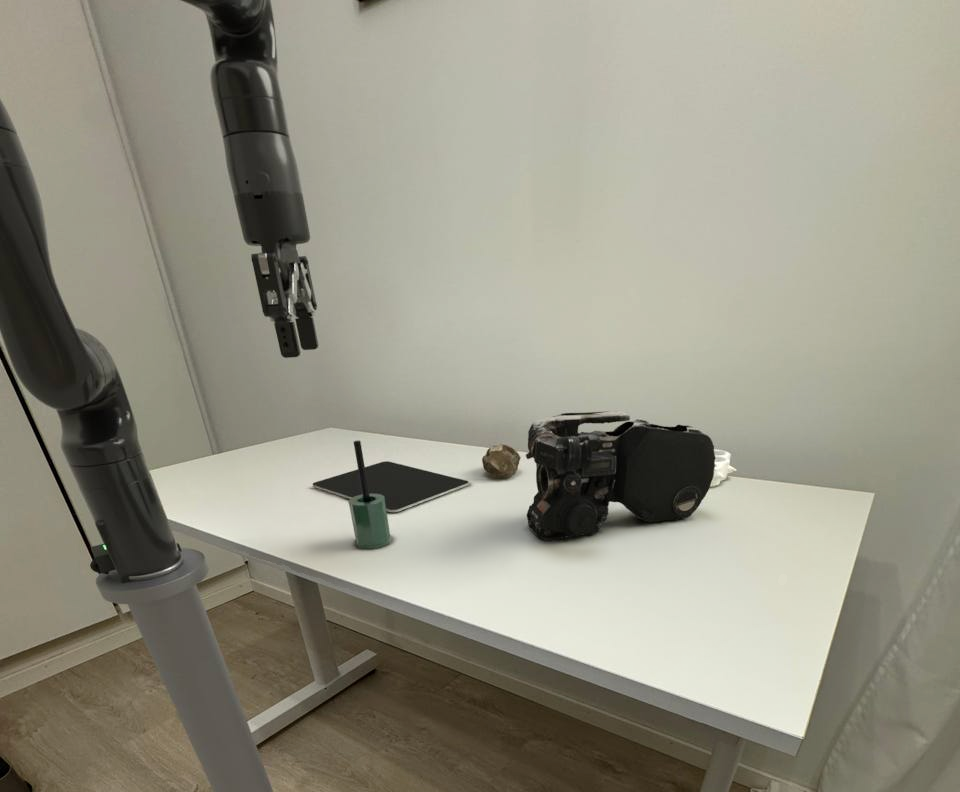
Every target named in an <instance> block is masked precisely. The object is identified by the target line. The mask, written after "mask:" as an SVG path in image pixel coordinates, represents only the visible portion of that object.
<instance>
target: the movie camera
mask: <svg viewBox="0 0 960 792" xmlns="http://www.w3.org/2000/svg"><path fill="white" fill-rule="evenodd" d="M630 419H631V416H630V415H628V414H627V413H625V412H624V411H619V410H617V411H615V410H612V411H592V412H590V411H589V412H565V413H559V414H555V415H550V416H547V417H543V418H539V419H536V420H535V421H533V422H532V423H531V425H530V427H529V429H528V433H527V436H528V437H527V449H528V452H527V453H526V454H525V458H526V459H527V460H530V459H533V461H534V464H536V465H535V468H536V472H535V480H536V482H535V483H536V488H537V489H536V490H537V492H536V494H534V496H533V503H531V505H529V506H528V509H527V513H526V519H527V526H528V528H529V530H531V531H532V532H533V533H534V534H535V536H537V537H538V539H540V540H544V541H545V540H546V541H547V540H548V541H549V540H559V539H562V540H563V539H565V538H570V537H572V538H574V537H581V536H588V535H589V536H593V534H595V533H598V532H599V529H600V528H601V526H602V525H603V523H605V522H607V520H608V515H609V505H610V503H619V504H621V505H623V506H624V507H625V508H626V509H627V510H628V511H629V512H630V513H631V514H632V515H633V516H635V517H636V518H638V519H639V520H642V521H643V522H646V523H655V522H663V521H665V522H666V521H674V520H682V519H686V518H687V519H688V518H689V517H691V516H692V515H693V513H695V511H696V510H697V509H698V508H699V506H700V505H701V504H702V501H703V500H704V499H705V497H706V495H707V494H708V492H709V490H710V488H711V487H710V484H711V481H712V479H713V476H714V467H715V459H716V457H715V454H714V450H715V445H714V442H713V440H712V438H711V437H710V436H709V435H708V434H706V433H704V432H702V431H701V430H699V428H696V427H693V426H691V425H684V424H683V425H682V424H677V425H675V426H665V425H658V424H654V423H649V421H647V420H643V419H635V420H631V421H630ZM619 422H620V423H621V422H623V423H622V424H620V425H618V426H617V427H615V429H613V430H611V431H603V430H602V431H601V430H594V431H590V432H585V431H581V432H579V426H581V425H584V424H592V425H593V424H601V425H603V424H606V423H607V424H611V423H619ZM537 524H538V525H539V529H538V527H537Z"/></svg>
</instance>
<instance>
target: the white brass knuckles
mask: <svg viewBox="0 0 960 792" xmlns="http://www.w3.org/2000/svg"><path fill="white" fill-rule="evenodd" d="M714 454H715V457H716V459H715V467H714V476H713V479H712V481H711V484H710V488H713V487H716V486H718V485H720V483H721V482H722V481H725V480H726V479H727V476H728V474H730V473H731V474H732V473H733V472H736V471H737V469H736V468H734V467H733V466H731V465H730V463H731V458H732V457H731V456H732V454H731V453H730V452H729V451H726V450H722V449H714Z"/></svg>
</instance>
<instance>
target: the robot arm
mask: <svg viewBox="0 0 960 792" xmlns="http://www.w3.org/2000/svg"><path fill="white" fill-rule="evenodd" d="M179 1H181V2H183V3H186V4H189V5H190V6H193V7H195V8H197V9H198V10H201V11H202V12H203V13H204V15H205V18H206V22H207V25H208V30H209V34H210V39H211V44H212V51H213V56H214V64H213V65H212V67H211V69H210V74H209V80H210V88H211V93H212V99H213V102H214V108H215V111H216V115H217V120H218V124H219V129H220V132H221V137H222V142H223V148H224V157H225V162H226V163H225V164H226V170H227V173H228V177H229V182H230V186H231V191H232V195H233V199H234V203H235V207H236V212H237V217H238V221H239V225H240V229H241V233H242V238H243V240H244V243H245V244H246V245H248V246H252V247H260V248H261V249H260V250H261V252H258V253H251V255H250V257H251V263H252V267H253V271H254V277H255V281H256V286H257V291H258V296H259V301H260V305H261V310H262V314H263V316H264V317H265V318H269V319H270V322H271V323H273V325H274V329H275V334H276V338H277V343H278V347H279V351H280V355H281V357H283V358H284V359H288V358H291V359H292V358H298V357H300V355H301V349H302V350H303V351H312V350H316V349H318V348H319V341H318V335H317V330H316V324H315V320H314V317H315V313H316V312H315V311H317V310H318V303H317V301H316V296H315V295H316V294H315V291H314V285H313V281H312V275H311V271H310V265H309V260H308V257H307V256H306V255H303V256H302V255H301V256H300V255H299V253H298V250H297V245H303V244H307V243H309V242H310V240H311V234H310V233H311V232H310V227H309V222H308V216H307V210H306V206H305V205H306V204H305V201H304V200H305V199H304V195H303V190H302V184H301V183H302V182H301V179H300V173H299V167H298V163H297V160H296V156H295V153H294V148H293V145H292V141H291V138H290V137H291V136H290V131H289V124H288V120H287V119H288V118H287V113H286V109H285V108H286V107H285V104H284V98H283V94H282V90H281V86H280V80H279V65H278V64H279V63H278V50H277V37H276V27H275V18H274V17H275V16H274V11H273V5H272V4H273V3H272V0H179ZM294 317H295V319H294ZM294 320H295V321H294ZM0 336H1V339H2V341H3V344H4V348H5V350H6V352H7V355H8V358H9V361H10V363H11V366H12V368H13V370H14V372H15V375H16V376H17V378H18V381H19V382H20V383H21V385H22V386H23V387H24V388H25V390H26V391H28V393H29V394H30V395H31V396H32V397H34V398H35V399H36V400H37V401H39V402H40V403H42V404H43V405H45V406H47V407H49V408H51V409H54V410H55V411H56V413H57V415H58V418H59V421H60V428H61V438H60V449H61V452H62V454H63V456H64V458H65V461H66V464H68V467H69V469H70V471H71V473H72V476H73V478H74V480H75V482H76V484H77V487H78V489H79V491H80V493H81V496H82V498H83V500H84V502H85V505H86V507H87V509H88V511H89V513H90V516H91V518H92V520H93V523H94V525H95V527H96V530H97V531H98V534H99V536H100V539H101V541H102V542H103V543H100V544H96V545H93V546H90V550H91V552H92V555H93V558H92V560H91V562H90V564H89V567H90V569H91V571H93V572H94V573H97V574H100V573H102V574H108V573H109V571H113V570H116V573H117V575H118V577H119V578H120V580H121V582H122V583H127V582H132V581H144V580H150V579H154V578H158V577H161V576H164V575H167V574H169V573H171V572H173V571H175V570H177V569H178V568H179V567H181V566H182V565H183V563H184V559H183V557H182V554H181V553H180V551H181V548H182V547H181V545H180V543H178V542H177V541H176V537H175V535H174V532H173V529H172V526H171V524H170V522H169V518H168V516H167V514H166V511H165V509H164V506H163V504H162V500H161V497H160V495H159V492H158V490H157V487H156V485H155V482H154V479H153V476H152V473H151V471H150V468H149V465H148V463H147V460H146V458H145V455H144V452H143V451H142V447H141V444H140V442H139V437H138V427H137V422H136V418H135V415H134V412H133V410H132V406H131V404H130V400H129V398H128V395H127V391H126V388H125V385H124V383H123V380H122V377H121V375H120V372H119V370H118V367H117V365H116V363H115V360H114V359H113V357H112V355H111V353H110V352H109V351H108V349H107V347H105V345H104V344H103V343H102V341H100V340H99V339H98V338H97V337H95V336H94V335H92V334H91V333H89V332H88V331H85V330H83V329H81V328H78V327H76V326H75V324H74V322H73V320H72V317H71V315H70V313H69V312H68V309H67V307H66V305H65V302H64V300H63V298H62V295H61V293H60V290H59V287H58V285H57V282H56V279H55V276H54V272H53V268H52V262H51V257H50V251H49V243H48V234H47V227H46V221H45V214H44V209H43V203H42V200H41V196H40V193H39V189H38V186H37V182H36V179H35V177H34V173H33V171H32V168H31V166H30V163H29V160H28V158H27V155H26V153H25V150H24V147H23V145H22V142H21V140H20V137H19V135H18V132H17V129H16V127H15V125H14V123H13V121H12V118H11V116H10V114H9V112H8V110H7V107H6V106H5V104H4V103H3V100H2V99H1V98H0ZM181 552H182V551H181Z"/></svg>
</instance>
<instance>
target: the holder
mask: <svg viewBox="0 0 960 792" xmlns="http://www.w3.org/2000/svg"><path fill="white" fill-rule="evenodd" d="M369 496H370V502H366V503H364V500H363V495H358V496H355V497H353V498H351V499H349V500H348V506H349V511H350V517H351V521H352V522H351V523H352V527H353V528H352V529H353V533H354V536H355V543H356V545H357V547H359V548H360V549H365V550H371V549H372V550H374V549H379V548H382V547H385V546H388V545H389V544H390V543H391V541H392V539H391V532H390V524H389V518H388V511H386V505H385V498H384V496H383V495H381V494H369Z"/></svg>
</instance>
